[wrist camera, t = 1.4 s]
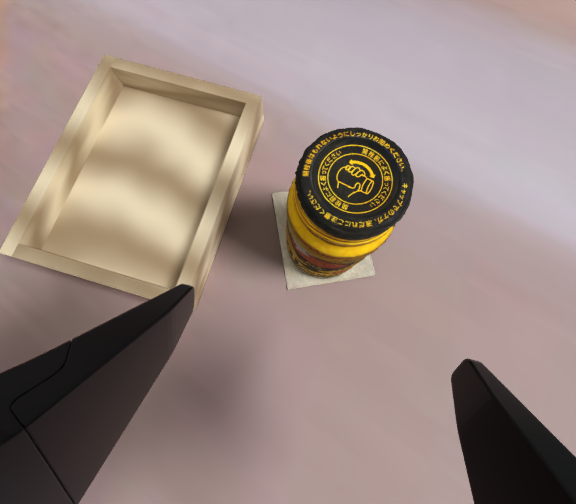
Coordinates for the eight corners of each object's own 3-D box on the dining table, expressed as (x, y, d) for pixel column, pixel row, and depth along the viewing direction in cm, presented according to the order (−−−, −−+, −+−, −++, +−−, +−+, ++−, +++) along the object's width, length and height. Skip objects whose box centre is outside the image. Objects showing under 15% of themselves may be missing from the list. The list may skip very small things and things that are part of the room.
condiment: (287, 289, 23) (290, 264, 11) (272, 194, 25) (260, 86, 13) (374, 275, 23) (465, 236, 12) (353, 182, 25) (412, 66, 13)
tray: (195, 309, 22) (182, 309, 20) (34, 260, 23) (-2, 252, 20) (264, 120, 26) (261, 96, 23) (123, 82, 27) (104, 54, 24)
